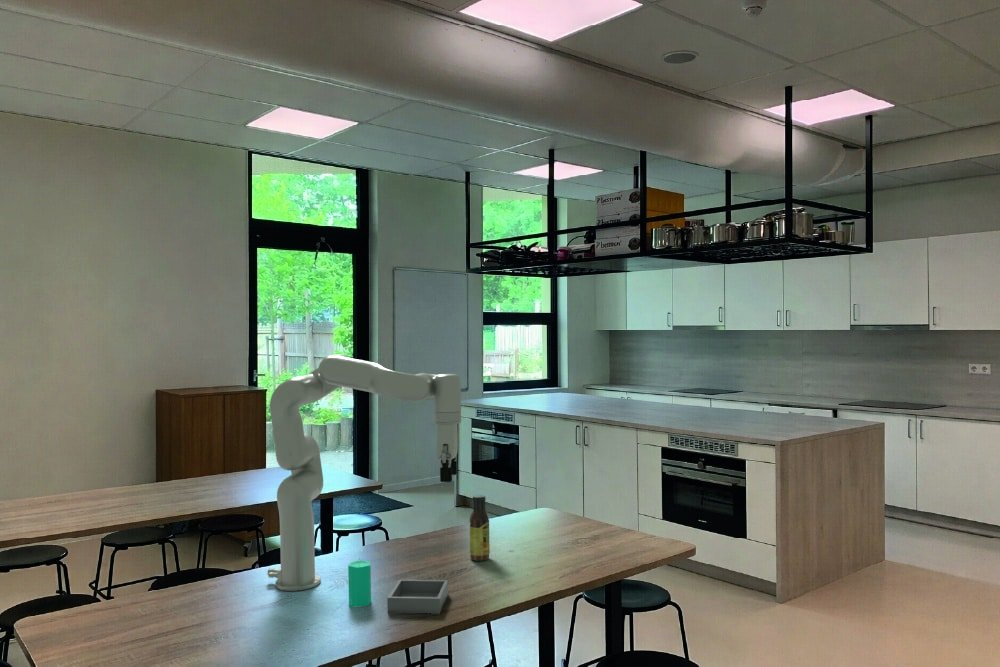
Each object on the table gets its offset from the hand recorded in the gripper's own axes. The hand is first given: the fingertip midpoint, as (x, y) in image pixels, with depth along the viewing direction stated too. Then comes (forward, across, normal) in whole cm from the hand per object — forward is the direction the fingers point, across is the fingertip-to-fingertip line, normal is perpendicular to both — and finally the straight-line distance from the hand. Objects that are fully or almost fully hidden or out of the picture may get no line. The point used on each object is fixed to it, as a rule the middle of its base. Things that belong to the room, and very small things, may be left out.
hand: (448, 478), depth 207 cm
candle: (+31, +13, -23) cm, 41 cm away
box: (+31, +13, -7) cm, 34 cm away
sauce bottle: (+31, -25, +6) cm, 40 cm away
